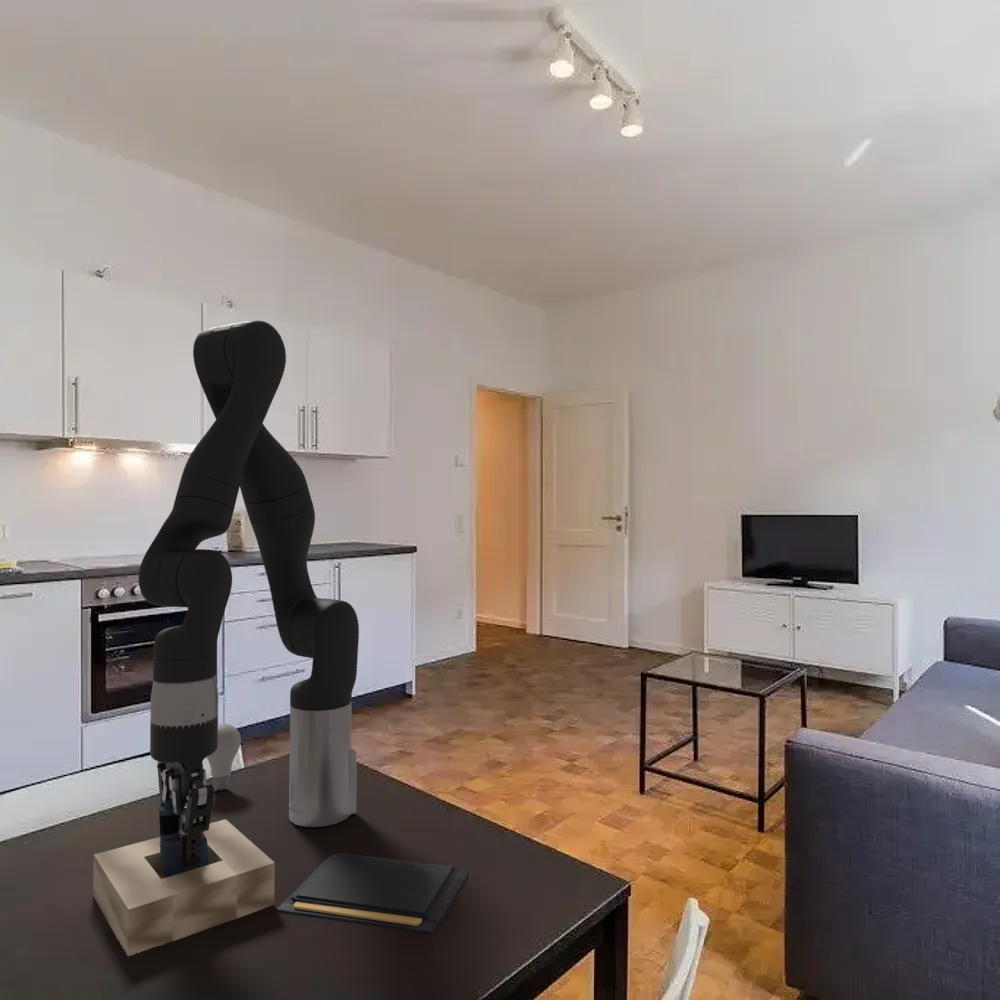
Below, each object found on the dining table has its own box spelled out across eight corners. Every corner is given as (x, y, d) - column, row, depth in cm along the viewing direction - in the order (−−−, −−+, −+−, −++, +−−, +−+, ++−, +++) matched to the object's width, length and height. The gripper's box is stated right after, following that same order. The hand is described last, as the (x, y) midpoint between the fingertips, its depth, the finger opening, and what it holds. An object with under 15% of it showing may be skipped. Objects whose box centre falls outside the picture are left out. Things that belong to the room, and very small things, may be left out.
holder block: (225, 856, 100) (225, 819, 100) (274, 904, 88) (274, 862, 88) (93, 896, 90) (93, 854, 90) (127, 957, 77) (128, 909, 77)
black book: (472, 862, 96) (432, 926, 81) (472, 877, 96) (431, 943, 81) (333, 843, 101) (271, 900, 87) (333, 857, 101) (271, 916, 86)
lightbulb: (227, 798, 120) (227, 730, 120) (193, 795, 121) (194, 728, 121) (247, 784, 126) (248, 720, 126) (215, 782, 127) (215, 717, 127)
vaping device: (163, 899, 89) (158, 797, 89) (209, 889, 91) (205, 790, 91) (161, 908, 86) (156, 805, 87) (209, 898, 88) (204, 796, 89)
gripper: (237, 721, 86) (236, 869, 86) (197, 697, 97) (195, 828, 97) (170, 734, 81) (168, 891, 81) (135, 707, 92) (133, 845, 92)
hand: (183, 856), depth 89 cm, fingers open, 4 cm apart
